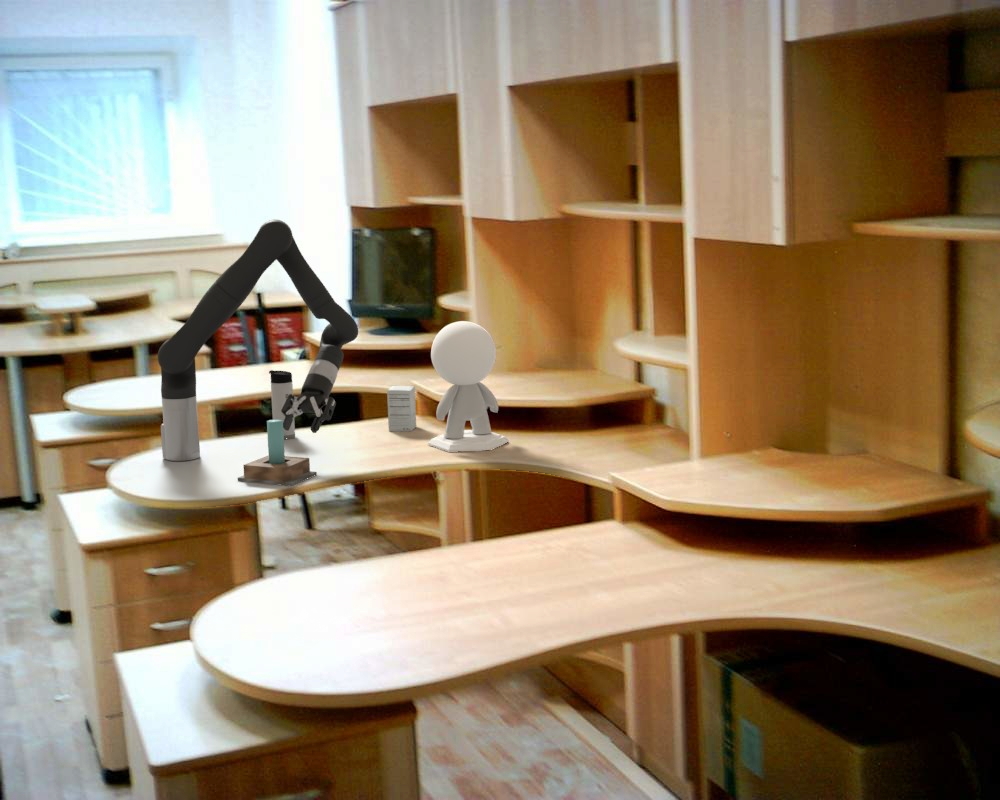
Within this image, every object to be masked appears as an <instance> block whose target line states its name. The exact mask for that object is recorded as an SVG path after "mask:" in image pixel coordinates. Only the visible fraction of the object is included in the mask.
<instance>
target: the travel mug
mask: <svg viewBox="0 0 1000 800" xmlns="http://www.w3.org/2000/svg"><path fill="white" fill-rule="evenodd" d="M268 374H270V394H271V409H272V410H271V412H272V413H271V414H272V420H283V422H284V419H285V416H284V414H283V413H282V412H281V410H282V408H283V406H284V404H285V402H286V400H287V398H288V396H289V395H290V394H292V395H293V396H294V391H293V390H294V389H293V388H294V387H293V386H294V385H293V374H292V372H290V371H285V370H273V369H271V370H269V371H268ZM294 412H295V411H294ZM294 412H293V413H294ZM293 413H292V414H293ZM295 424H296V423H295V418H294V419H293V422H292V424H291V426H290V429H289V431H286V430H285V429H284V428H283V435H284V440H287V439H286V438H291V439H294V438H295V437H296V427H295Z"/></svg>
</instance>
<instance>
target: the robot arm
mask: <svg viewBox="0 0 1000 800" xmlns="http://www.w3.org/2000/svg"><path fill="white" fill-rule="evenodd" d="M276 261H277V262H278V263H279V264H280V266H281V267H282V268H283V270H284V271H285V272H286V274H287V275H288V277H289V279H290V280H291V282H292V284H293V285H294V287H295V290H297V292H298V294H299V296H300V298H301V299H302V301H303V302H304V303H305V305H306V306H307V308H308V309H309V311H310V312H311V314H312V315H313V316H314V317H315V318H316V319H317V320H325V321H327V323H328V324H327V325H326V326H325V327H324V329H323V330H322V333H321V336H320V342H319V350H318V352H317V354H316V356H315V359H314V361H313V363H312V364H311V366H310V368H309V371H308V372H307V375H306V377H305V380H304V381H303V385H302V387H301V391H300V392H301V393H300V394H299V395H298V396H295V395H294V394H293V395H292V394H290V395H289V396H288V398H287V400H286V402H285V404H284V406H283V408H282V410H281V412H282V413H283V414H284V416H285V419H284V422H283V428H284V429H285V430H286V431H289V429H290V426H291V424H292V422H293V419H294V420H295V418H296V417H298V416H301V415H303V413H304V414H309V413H310V414H312V415H313V414H315V416H316V417H314V418H313V422H312V423H311V426H310V431H311V432H312V433H313V434H317V432H318V431H319V430H320V428H321V425H322V423H323V422H324V421H330V420H331V419H332V417H333V414H334V411H335V408H336V405H337V402H336V401H335V399H334V398H333V396H330V395H331V392H332V390H333V387H334V385H335V383H336V380H337V377H338V373H339V371H340V368H341V366H342V364H343V360H344V352H343V350H342V348H343V346H344V345H347V344H349V343H352V342H353V341H355V339H357V337H358V335H359V327H358V324H357V322H356V321H355V319H354V318H353V316H351V315H350V314H349V312H347V311H346V310H345V309H344V308H343V307H342V306H341V305H340V304H338V303H337V302H336V301H335V299H334V298H333V296H332V295H331V293H330V292H329V290H328V289H327V288H326V286H325V285H324V283H323V282H322V281H321V279H320V278H319V277H318V276H317V274H316V273H315V271H314V270H313V269H312V267H311V266H310V264H309V263H308V262H307V260H306V259H305V257H304V255H303V254H302V252H301V251H300V248H299V247H298V244H297V243H296V240H295V237H294V236H293V232H292V229H291V227H290V226H289V224H287V223H286V222H285V221H283V220H280V219H275V218H274V219H269V220H267V221H265V222H264V223H263V224H262V225H261V226H260V227H259V230H258V231H257V232H256V235H255V236H254V238H253V239H252V241H251V242H250V244H249V245H248V247H247V248H246V250H245V251H244V252H243V253H242V254H241V255H240V257H239V258H238V259H237V260H235V262H234V263H232V264H231V265H230V266H229V267H228V268H226V270H224V271H223V272H222V273H221V274H220V276H219V277H218V278H217V279H216V280H215V281H214V282H213V284H212V285H211V286H210V287H209V288H208V290H207V291H206V292H205V293H204V294H203V296H202V298H201V299H200V300H199V302H198V303H197V305H196V306H195V308H194V309H193V311H192V313H191V314H190V316H189V317H188V319H187V320H186V321H185V323H184V324H183V325H182V326H181V327H180V328H179V329H178V330H177V331H176V333H174V334H173V336H171V337H170V338H168V339H167V340H165V341H164V342H163V343H162V344H161V346H160V347H159V350H158V352H157V363H158V364H159V366H160V372H161V375H160V376H161V385H160V393H161V407H162V419H163V420H162V422H163V423H161V424H160V433H161V434H160V435H161V436H160V437H161V439H160V440H161V450H162V451H161V452H162V459H165V460H167V461H171V462H172V461H173V462H182V461H192V460H195V459H198V458H200V457H201V449H200V447H201V446H200V435H199V433H200V432H199V431H200V430H199V416H198V404H197V403H198V401H197V373H196V370H197V369H196V356H197V355H198V353H199V352H200V350H201V349H202V348H203V346H204V345H205V343H206V342H207V341H208V340H209V339H210V338H211V336H213V335H214V334H215V333H216V332H217V331H218V330H219V329H220V328H221V327H222V326H223V325H225V323H226V322H228V320H230V318H231V317H232V316H233V315H234V314H235V313H236V311H237V310H238V309H239V308H240V307H241V305H242V304H243V303H244V302H245V301H246V299H247V298H248V296H249V295H250V294H251V292H252V291H253V289H254V288H255V286H256V284H257V283H258V281H259V280H260V278H261V277H262V276H263V274H264V273H265V272H266V271H267V269H268V268H269V267H271V265H273V263H275V262H276ZM324 406H325V407H324ZM323 407H324V410H322V408H323ZM298 408H299V409H298ZM293 412H294V413H293ZM292 413H293V414H292Z"/></svg>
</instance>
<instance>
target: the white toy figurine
mask: <svg viewBox="0 0 1000 800" xmlns="http://www.w3.org/2000/svg"><path fill="white" fill-rule="evenodd" d="M430 350H431V351H430V359H431V364H432V366H433V368H434V370H435V372H436V373H437V375H438V376H439V377H440V378H441V379H443V381H444V380H445V382H448V383H449V384H451V386H450V387H449V388H448V389H447V390H446V392H445V393H444V394H443V396H442V397H441V399H440V401H439V403H438V405H437V407H436V413H435V414H436V419H437V420H439V421H445V420H446V425H445V426H446V427H445V432H444V433H442V434H439V435H437V436H436V437H432V438H430V440H429V441H428V443H427V445H428V446H429V445H430V447H432V446H433V447H432V448H435V447H436V449H438V448H439V450H441V449H442V450H441V451H444V450H445V451H444V452H447V451H448V453H459V452H458V451H476V452H483V451H482V450H491V449H493V448H496V447H498V446H500V445H502V444H505V443H507V442H509V443H510V440H509V438H507V437H506V436H504V435H502V434H498V433H497V432H492V429H491V424H490V419H489V415H488V409H489V410H490V412H493V413H497V414H498V411H499V404H498V403H499V402H498V400H497V398H496V396H495V394H493V391H491V389H489V387H487V386H486V385H485V384H484V383H483V382H481V381H483V380H484V379H486V378H487V377H488V376H489V375H490V373H491V372H492V370H493V369H494V366H495V363H496V359H497V358H496V357H497V350H496V344H495V341H494V339H493V338H492V335H491V334H490V332H488V331H487V330H486V329H485V328H484V327H483V326H482V325H480V324H478V323H476V322H472V321H469V320H467V321H466V320H459V321H455V322H451V323H449V324H446V325H445V326H444V327H443V328H441V330H439V331H438V333H437V334H436V335H435V338H434V339H433V342H432V345H431V349H430ZM446 416H447V419H445V418H446ZM467 421H470V425H471V429H465V427H466V422H467ZM507 444H508V443H507ZM505 445H506V444H505ZM500 447H501V446H500ZM498 448H499V447H498ZM496 449H497V448H496Z"/></svg>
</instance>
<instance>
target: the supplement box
mask: <svg viewBox="0 0 1000 800" xmlns="http://www.w3.org/2000/svg"><path fill="white" fill-rule="evenodd" d="M386 394H387V395H386V397H387V415H388V416H387V420H388V431H389V432H413V431H414V429H415V428H417V410H416V409H417V407H416V404H417V403H416V386H415V385H414V386H413V385H393V386H390V387H389V389H387V390H386Z"/></svg>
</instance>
